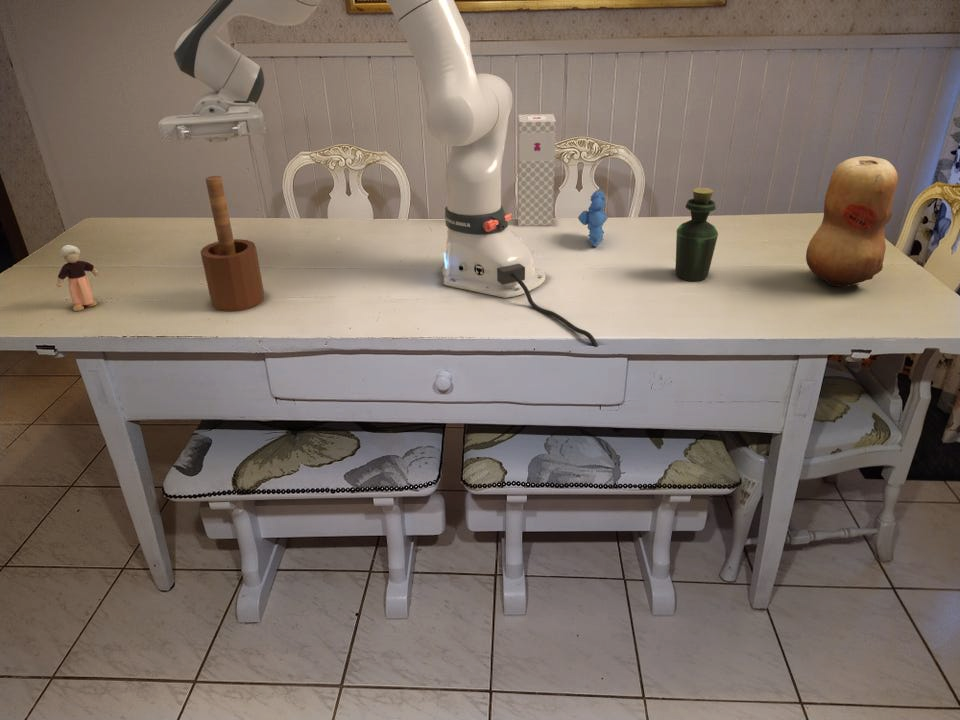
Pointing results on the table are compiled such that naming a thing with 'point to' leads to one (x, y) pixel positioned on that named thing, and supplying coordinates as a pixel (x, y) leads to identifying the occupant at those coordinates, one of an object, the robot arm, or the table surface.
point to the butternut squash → (854, 222)
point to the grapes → (595, 218)
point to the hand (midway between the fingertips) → (211, 133)
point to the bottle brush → (220, 215)
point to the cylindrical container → (233, 276)
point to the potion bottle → (696, 238)
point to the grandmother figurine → (77, 277)
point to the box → (536, 169)
